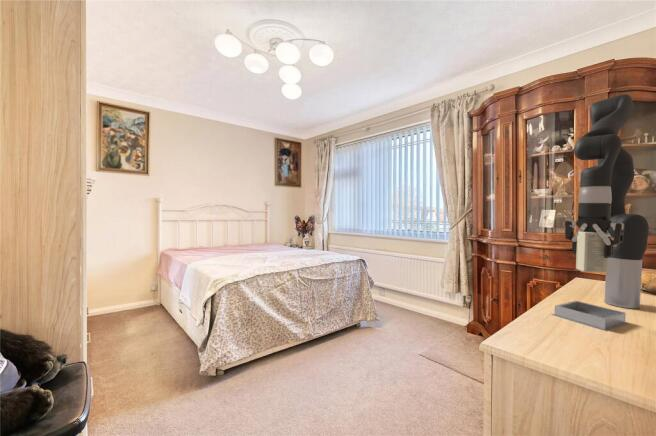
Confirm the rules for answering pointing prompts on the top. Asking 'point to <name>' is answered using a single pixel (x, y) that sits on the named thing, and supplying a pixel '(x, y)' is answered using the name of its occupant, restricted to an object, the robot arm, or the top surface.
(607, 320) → the shallow grey tray
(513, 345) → the top surface
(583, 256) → the skincare box
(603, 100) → the robot arm
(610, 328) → the slate base plate
